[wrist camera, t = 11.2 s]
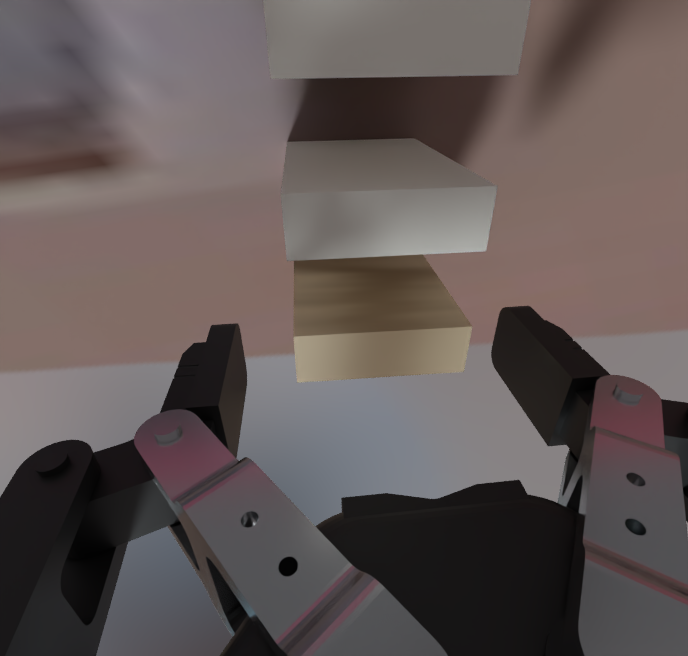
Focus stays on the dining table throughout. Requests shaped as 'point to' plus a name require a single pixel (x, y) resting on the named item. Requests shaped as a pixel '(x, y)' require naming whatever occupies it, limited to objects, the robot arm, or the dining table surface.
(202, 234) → the dining table surface
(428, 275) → the domino
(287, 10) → the domino
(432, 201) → the domino
